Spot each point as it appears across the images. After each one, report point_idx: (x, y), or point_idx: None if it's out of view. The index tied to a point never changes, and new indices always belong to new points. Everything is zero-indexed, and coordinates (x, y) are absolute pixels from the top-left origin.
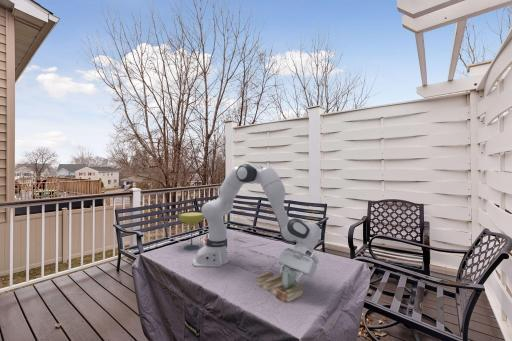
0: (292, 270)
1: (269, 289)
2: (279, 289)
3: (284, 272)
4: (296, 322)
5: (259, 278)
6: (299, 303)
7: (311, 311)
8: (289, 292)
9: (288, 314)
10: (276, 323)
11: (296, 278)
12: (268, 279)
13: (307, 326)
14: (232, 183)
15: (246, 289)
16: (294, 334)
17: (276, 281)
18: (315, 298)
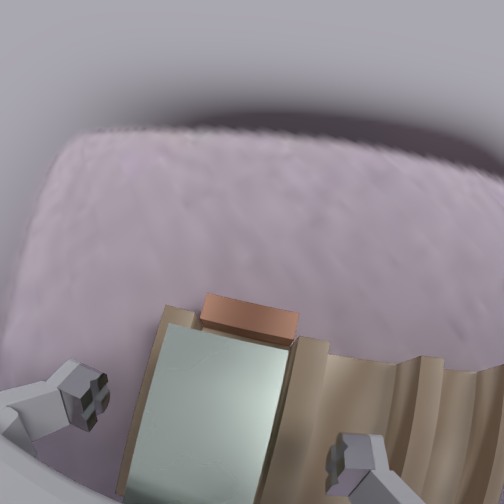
0: (152, 481)
1: (379, 363)
2: (290, 361)
3: (247, 342)
4: (88, 188)
5: (497, 370)
6: (113, 352)
7: (39, 307)
8: (164, 317)
9: (135, 214)
10: (164, 138)
11: (74, 377)
12: (460, 464)
13: (46, 194)
14: None
15: (477, 286)
16: (86, 135)
17: (389, 462)
18: (56, 461)
